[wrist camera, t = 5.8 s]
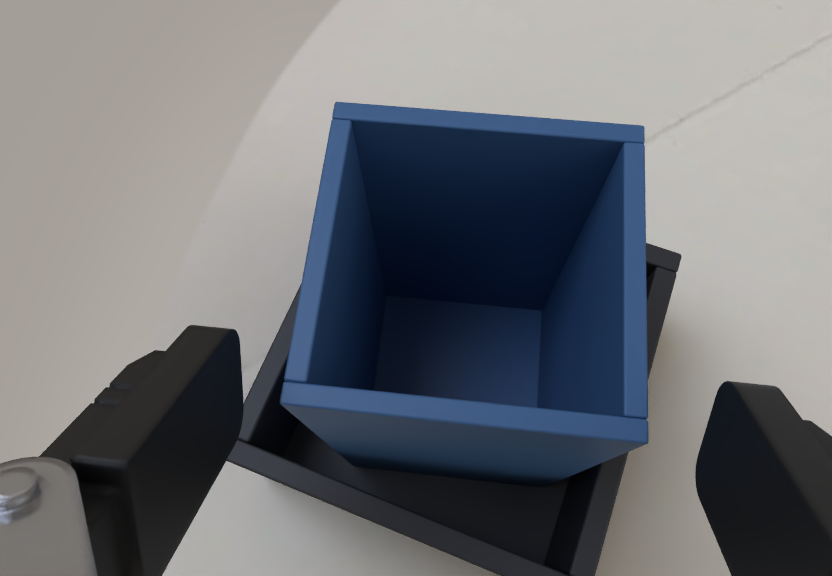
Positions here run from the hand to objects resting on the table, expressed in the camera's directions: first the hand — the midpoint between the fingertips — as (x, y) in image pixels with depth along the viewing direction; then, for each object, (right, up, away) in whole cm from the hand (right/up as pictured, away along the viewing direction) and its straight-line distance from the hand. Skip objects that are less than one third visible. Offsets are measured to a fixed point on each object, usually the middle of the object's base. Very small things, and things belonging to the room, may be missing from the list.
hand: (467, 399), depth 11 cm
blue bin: (0, -1, +10) cm, 10 cm away
